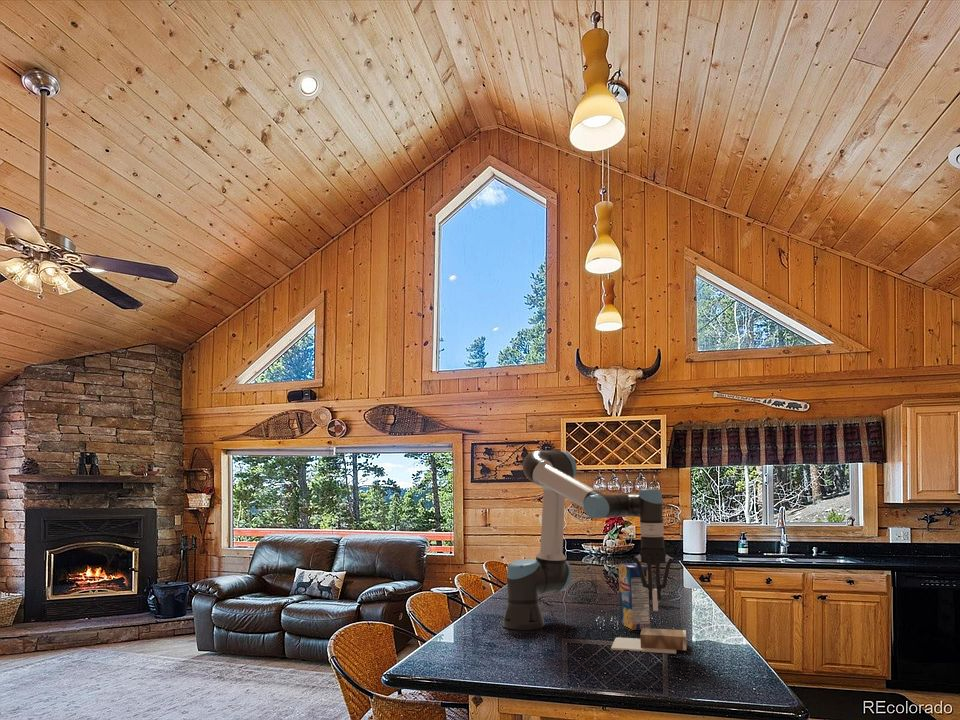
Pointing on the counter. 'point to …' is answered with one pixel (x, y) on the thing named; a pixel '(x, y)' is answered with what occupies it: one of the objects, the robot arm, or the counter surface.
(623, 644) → the felt mat
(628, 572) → the beverage box
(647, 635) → the beige rectangular box
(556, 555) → the robot arm
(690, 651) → the counter surface
